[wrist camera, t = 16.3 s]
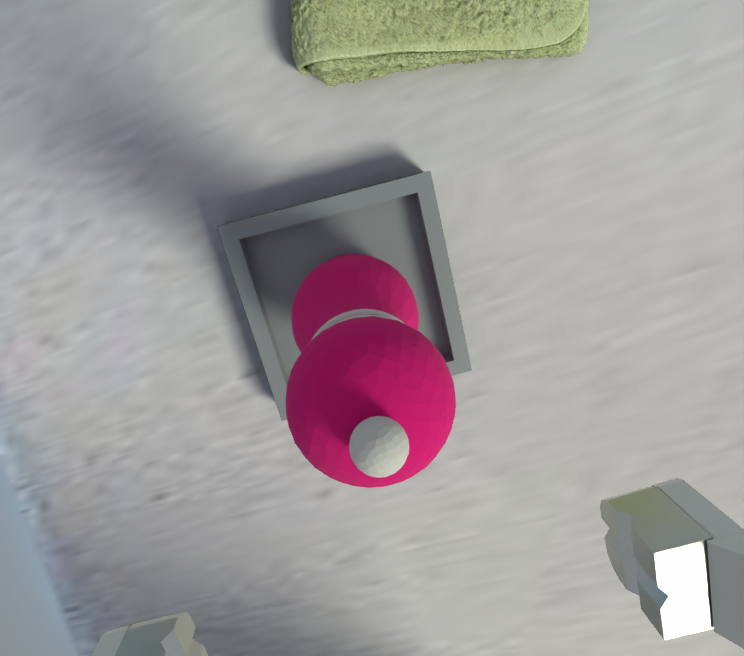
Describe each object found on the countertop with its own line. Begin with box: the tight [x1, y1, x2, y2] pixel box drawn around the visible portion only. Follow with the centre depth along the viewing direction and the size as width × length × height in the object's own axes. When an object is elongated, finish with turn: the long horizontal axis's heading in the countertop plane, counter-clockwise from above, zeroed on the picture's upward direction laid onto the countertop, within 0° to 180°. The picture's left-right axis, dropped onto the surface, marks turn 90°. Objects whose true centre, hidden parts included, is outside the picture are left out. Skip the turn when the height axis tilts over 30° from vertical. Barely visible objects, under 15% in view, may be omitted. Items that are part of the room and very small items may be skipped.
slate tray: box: [217, 171, 472, 421], centre depth 33 cm, size 13×13×2 cm
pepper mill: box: [286, 254, 456, 488], centre depth 24 cm, size 7×7×20 cm
